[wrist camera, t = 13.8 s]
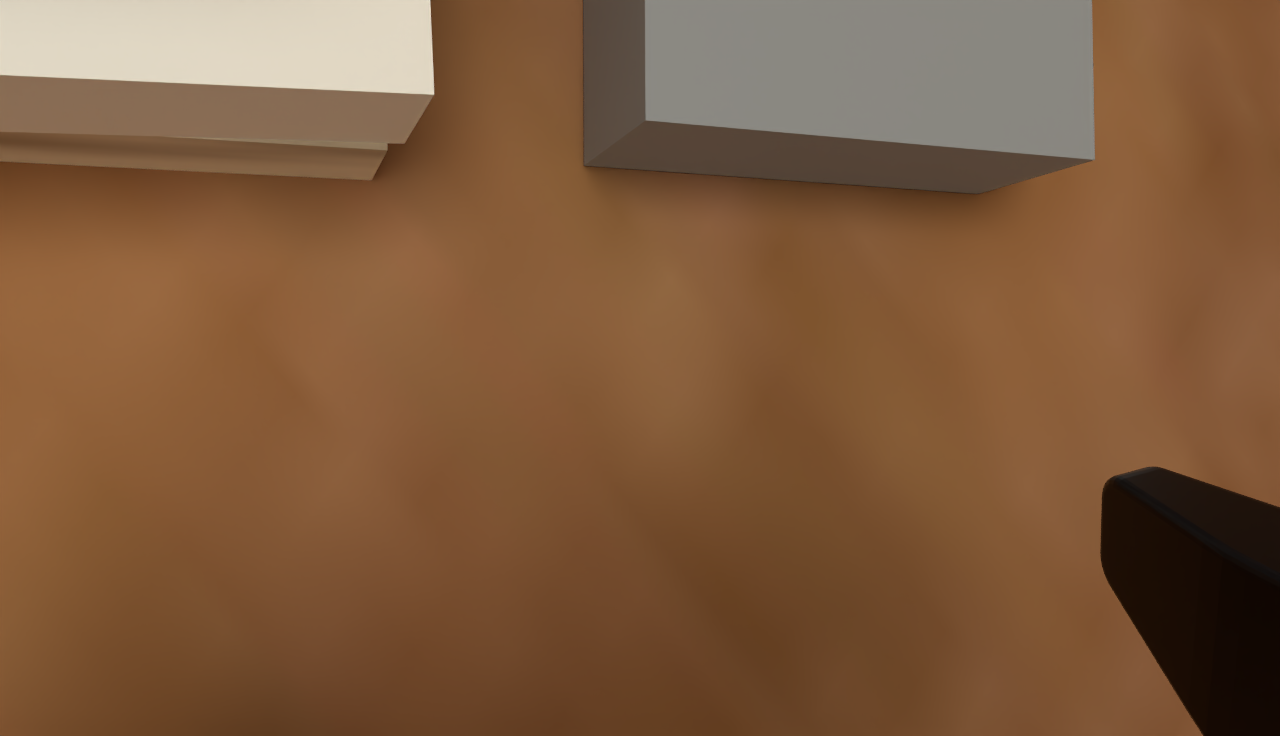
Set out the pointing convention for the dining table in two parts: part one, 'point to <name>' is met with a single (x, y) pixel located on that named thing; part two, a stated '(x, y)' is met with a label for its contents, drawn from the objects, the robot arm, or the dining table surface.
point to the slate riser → (841, 89)
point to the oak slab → (198, 154)
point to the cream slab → (217, 68)
